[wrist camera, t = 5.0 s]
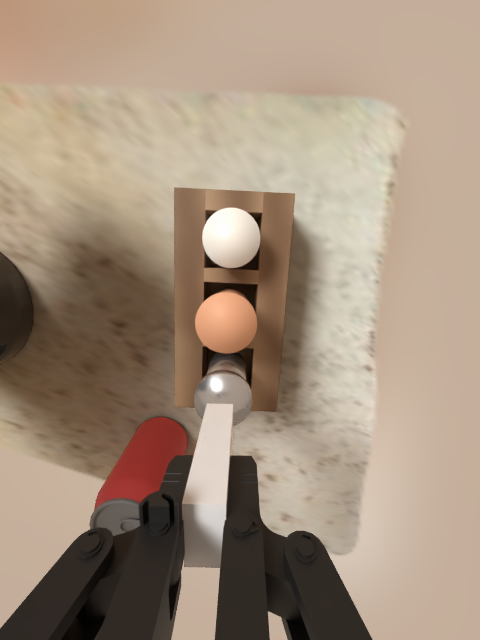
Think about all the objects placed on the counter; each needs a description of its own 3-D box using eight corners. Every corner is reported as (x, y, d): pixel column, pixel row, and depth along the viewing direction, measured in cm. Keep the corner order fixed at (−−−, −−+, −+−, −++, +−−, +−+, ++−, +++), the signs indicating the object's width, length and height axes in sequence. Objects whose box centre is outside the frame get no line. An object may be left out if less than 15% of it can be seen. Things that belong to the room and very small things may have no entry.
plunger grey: (205, 385, 28) (193, 425, 21) (206, 344, 27) (194, 372, 20) (248, 387, 28) (250, 428, 21) (251, 346, 27) (253, 375, 20)
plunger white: (211, 264, 28) (201, 266, 21) (212, 218, 27) (202, 206, 20) (254, 266, 28) (258, 269, 21) (257, 221, 27) (262, 209, 20)
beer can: (194, 455, 35) (170, 553, 24) (145, 464, 36) (97, 565, 24) (181, 409, 34) (149, 490, 22) (130, 419, 34) (71, 503, 22)
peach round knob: (206, 328, 27) (194, 351, 20) (207, 282, 26) (195, 291, 19) (252, 330, 27) (255, 355, 20) (254, 285, 26) (259, 294, 19)
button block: (187, 380, 33) (174, 406, 27) (188, 202, 29) (174, 187, 23) (270, 384, 33) (276, 411, 27) (284, 206, 29) (295, 193, 23)
